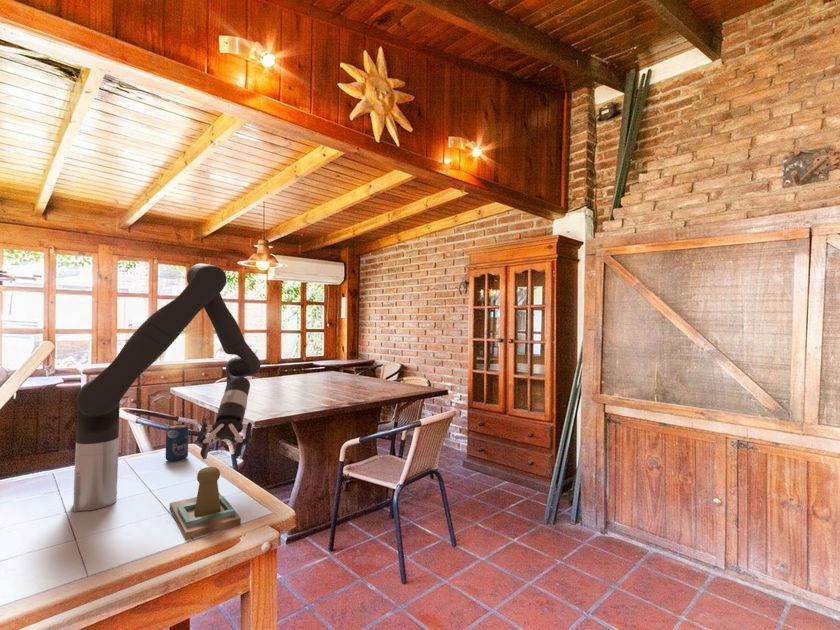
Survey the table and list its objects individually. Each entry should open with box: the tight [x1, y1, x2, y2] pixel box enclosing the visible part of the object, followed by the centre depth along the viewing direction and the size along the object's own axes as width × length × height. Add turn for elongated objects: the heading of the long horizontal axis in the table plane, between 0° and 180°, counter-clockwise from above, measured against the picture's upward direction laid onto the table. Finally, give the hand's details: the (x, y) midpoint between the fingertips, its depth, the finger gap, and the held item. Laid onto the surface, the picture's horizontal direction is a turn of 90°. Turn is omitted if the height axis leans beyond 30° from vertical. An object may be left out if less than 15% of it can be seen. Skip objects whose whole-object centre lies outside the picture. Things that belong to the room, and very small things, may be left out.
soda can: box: [165, 423, 190, 463], centre depth 151 cm, size 7×7×12 cm
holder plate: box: [169, 492, 242, 540], centre depth 108 cm, size 12×20×3 cm, turn 39°
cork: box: [194, 466, 221, 517], centre depth 107 cm, size 6×6×11 cm
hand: (220, 457), depth 119 cm, fingers open, 8 cm apart
